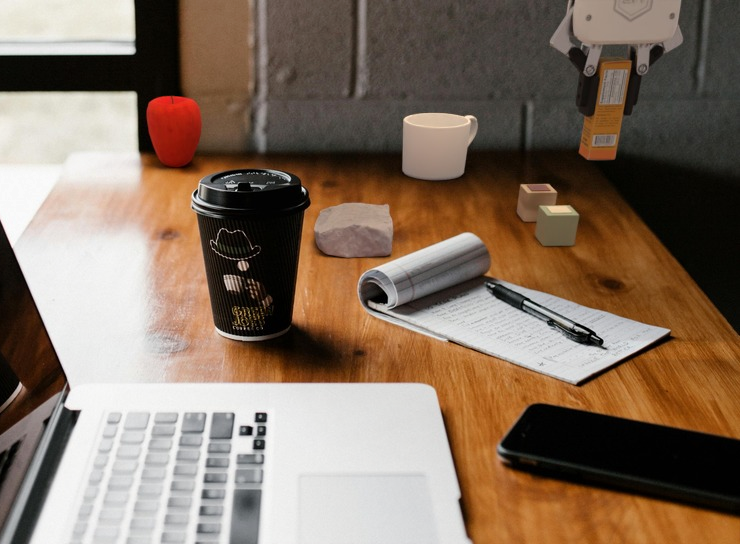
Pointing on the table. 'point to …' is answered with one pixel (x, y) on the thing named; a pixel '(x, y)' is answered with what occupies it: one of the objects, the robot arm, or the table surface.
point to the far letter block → (534, 200)
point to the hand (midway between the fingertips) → (604, 111)
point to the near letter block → (556, 225)
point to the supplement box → (606, 110)
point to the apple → (174, 129)
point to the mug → (436, 145)
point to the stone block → (355, 230)
